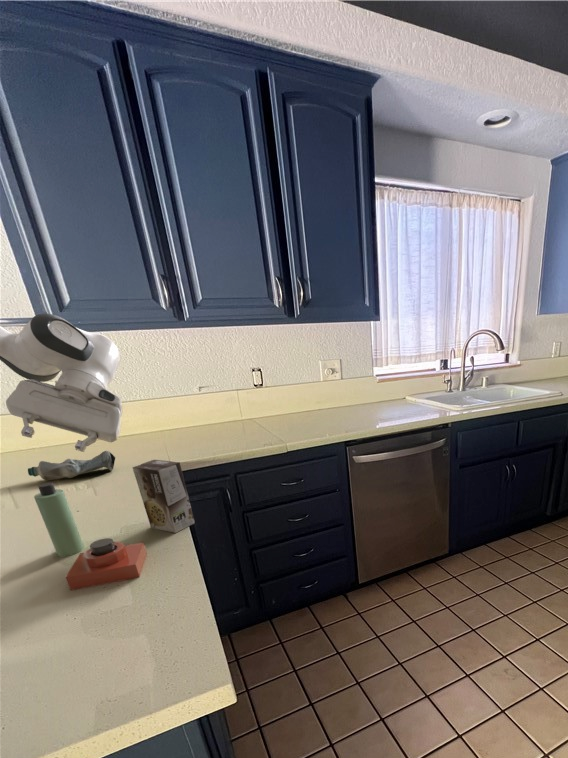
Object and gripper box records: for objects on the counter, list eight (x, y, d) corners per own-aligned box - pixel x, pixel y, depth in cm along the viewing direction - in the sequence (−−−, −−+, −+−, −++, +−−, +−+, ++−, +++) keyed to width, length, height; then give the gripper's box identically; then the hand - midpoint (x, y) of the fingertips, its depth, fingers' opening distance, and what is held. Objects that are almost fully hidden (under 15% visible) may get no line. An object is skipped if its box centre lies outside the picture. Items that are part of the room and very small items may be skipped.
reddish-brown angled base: (70, 590, 82) (61, 568, 80) (84, 565, 90) (77, 544, 88) (139, 577, 85) (132, 555, 83) (147, 554, 94) (141, 534, 92)
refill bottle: (54, 558, 94) (26, 490, 87) (61, 547, 98) (35, 482, 92) (81, 553, 95) (55, 486, 89) (87, 543, 100) (63, 479, 93)
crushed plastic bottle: (119, 464, 158) (37, 474, 148) (113, 445, 155) (29, 455, 145) (116, 477, 148) (28, 489, 138) (111, 457, 144) (20, 468, 135)
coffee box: (196, 522, 108) (181, 461, 101) (175, 533, 103) (158, 470, 96) (170, 517, 112) (154, 458, 105) (149, 528, 106) (131, 466, 100)
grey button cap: (90, 558, 84) (87, 549, 83) (95, 549, 87) (92, 540, 86) (113, 554, 85) (110, 545, 84) (117, 545, 88) (114, 536, 87)
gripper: (20, 366, 90) (-13, 417, 83) (128, 400, 97) (106, 449, 90) (26, 386, 95) (-4, 435, 88) (129, 417, 102) (108, 464, 95)
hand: (53, 442), depth 89 cm, fingers open, 8 cm apart
